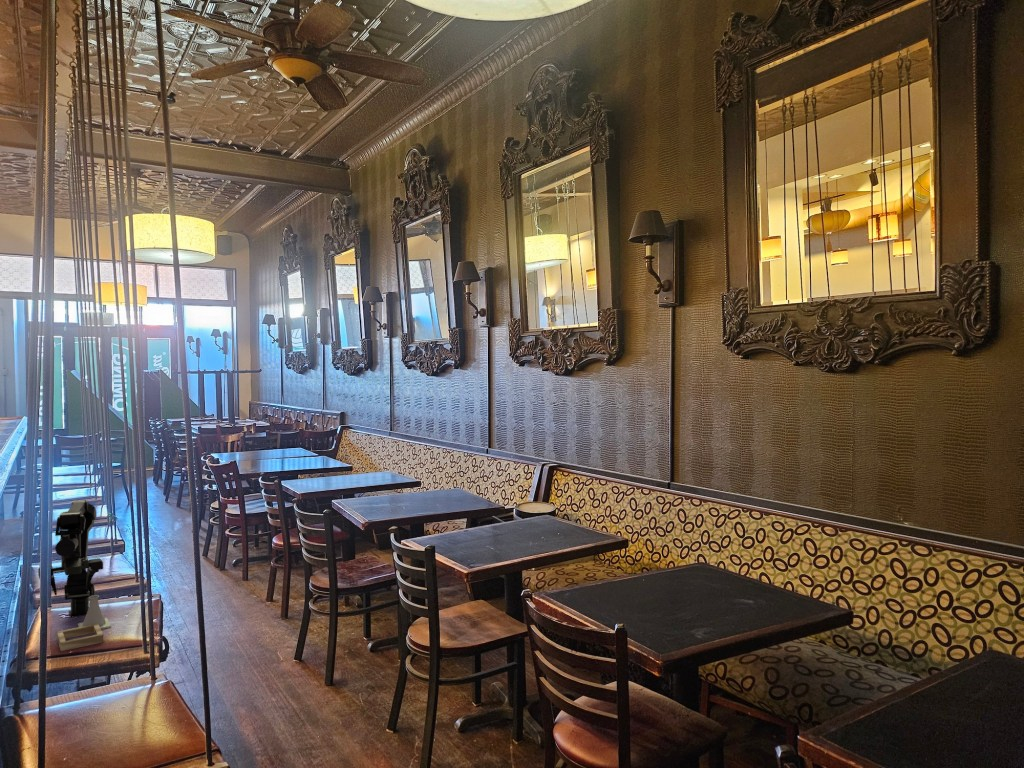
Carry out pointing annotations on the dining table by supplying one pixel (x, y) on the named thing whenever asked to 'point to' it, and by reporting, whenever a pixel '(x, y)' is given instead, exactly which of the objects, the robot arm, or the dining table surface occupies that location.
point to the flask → (94, 613)
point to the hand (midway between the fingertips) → (71, 592)
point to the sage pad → (105, 625)
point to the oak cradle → (80, 641)
